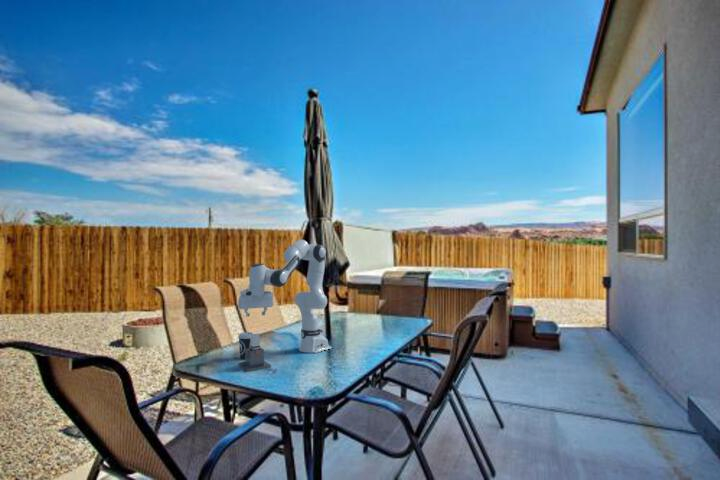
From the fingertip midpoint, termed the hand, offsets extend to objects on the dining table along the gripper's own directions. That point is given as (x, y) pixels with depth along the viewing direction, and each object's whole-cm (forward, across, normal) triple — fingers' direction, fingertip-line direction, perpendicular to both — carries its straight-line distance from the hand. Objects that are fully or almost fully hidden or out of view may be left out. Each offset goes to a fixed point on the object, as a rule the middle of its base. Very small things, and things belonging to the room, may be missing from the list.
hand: (255, 315), depth 209 cm
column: (+27, 0, 0) cm, 27 cm away
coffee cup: (+29, -2, -19) cm, 35 cm away
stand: (+29, 0, 0) cm, 29 cm away
